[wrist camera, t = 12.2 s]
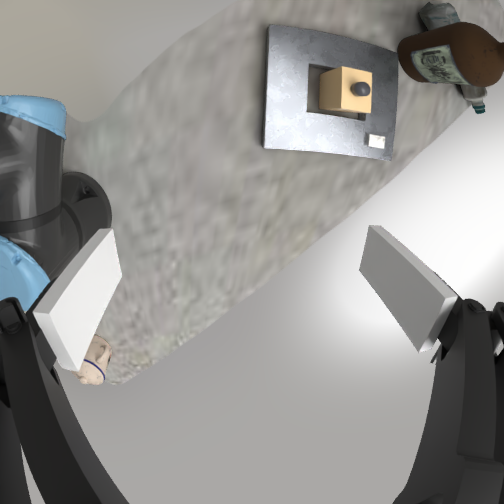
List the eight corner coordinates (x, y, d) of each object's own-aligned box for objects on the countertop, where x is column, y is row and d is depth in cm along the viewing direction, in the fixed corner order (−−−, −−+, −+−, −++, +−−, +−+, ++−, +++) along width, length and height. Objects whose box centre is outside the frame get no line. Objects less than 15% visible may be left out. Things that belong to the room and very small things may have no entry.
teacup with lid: (100, 362, 60) (89, 396, 50) (74, 340, 56) (59, 374, 46) (127, 347, 58) (116, 385, 48) (98, 322, 54) (82, 360, 44)
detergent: (404, 7, 29) (452, 119, 39) (427, -3, 22) (478, 122, 33) (439, 5, 28) (480, 105, 39) (461, -1, 21) (503, 108, 32)
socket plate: (262, 146, 41) (265, 149, 38) (267, 29, 32) (270, 22, 29) (384, 158, 43) (394, 162, 40) (390, 55, 34) (401, 52, 31)
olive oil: (412, 26, 31) (510, 6, 9) (443, 68, 35) (542, 72, 13) (384, 51, 34) (492, 32, 12) (419, 95, 38) (527, 108, 16)
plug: (318, 108, 39) (347, 108, 29) (319, 74, 36) (348, 64, 26) (344, 112, 39) (378, 113, 30) (345, 78, 36) (379, 71, 27)
